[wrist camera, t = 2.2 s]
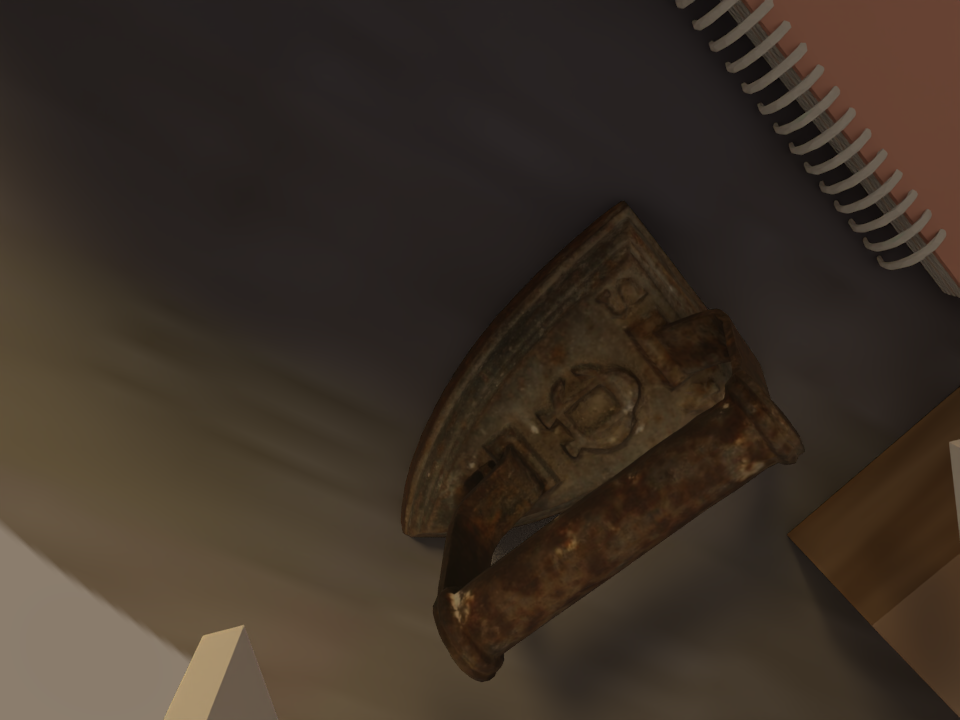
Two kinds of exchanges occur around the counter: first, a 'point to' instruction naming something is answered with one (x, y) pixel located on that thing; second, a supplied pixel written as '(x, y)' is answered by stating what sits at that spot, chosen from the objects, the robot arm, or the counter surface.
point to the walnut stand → (901, 548)
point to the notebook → (870, 107)
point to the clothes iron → (583, 437)
